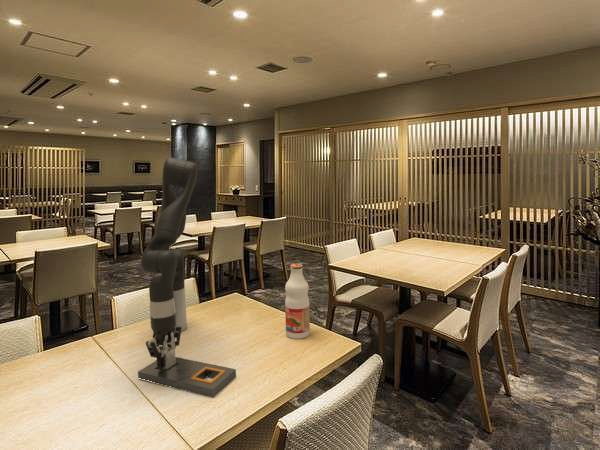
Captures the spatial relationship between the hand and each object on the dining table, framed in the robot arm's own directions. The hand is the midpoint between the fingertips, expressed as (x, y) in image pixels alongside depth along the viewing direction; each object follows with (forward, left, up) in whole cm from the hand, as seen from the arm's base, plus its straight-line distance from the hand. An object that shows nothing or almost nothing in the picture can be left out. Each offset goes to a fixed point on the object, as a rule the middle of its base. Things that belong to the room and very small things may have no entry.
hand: (166, 363), depth 122 cm
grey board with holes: (+8, 0, -3) cm, 9 cm away
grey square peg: (0, 0, -3) cm, 3 cm away
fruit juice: (+28, +42, -3) cm, 51 cm away
